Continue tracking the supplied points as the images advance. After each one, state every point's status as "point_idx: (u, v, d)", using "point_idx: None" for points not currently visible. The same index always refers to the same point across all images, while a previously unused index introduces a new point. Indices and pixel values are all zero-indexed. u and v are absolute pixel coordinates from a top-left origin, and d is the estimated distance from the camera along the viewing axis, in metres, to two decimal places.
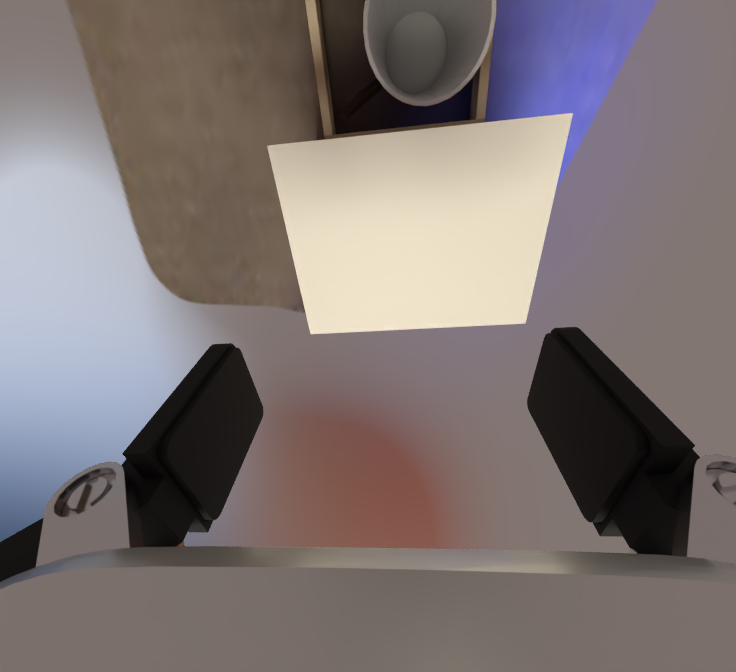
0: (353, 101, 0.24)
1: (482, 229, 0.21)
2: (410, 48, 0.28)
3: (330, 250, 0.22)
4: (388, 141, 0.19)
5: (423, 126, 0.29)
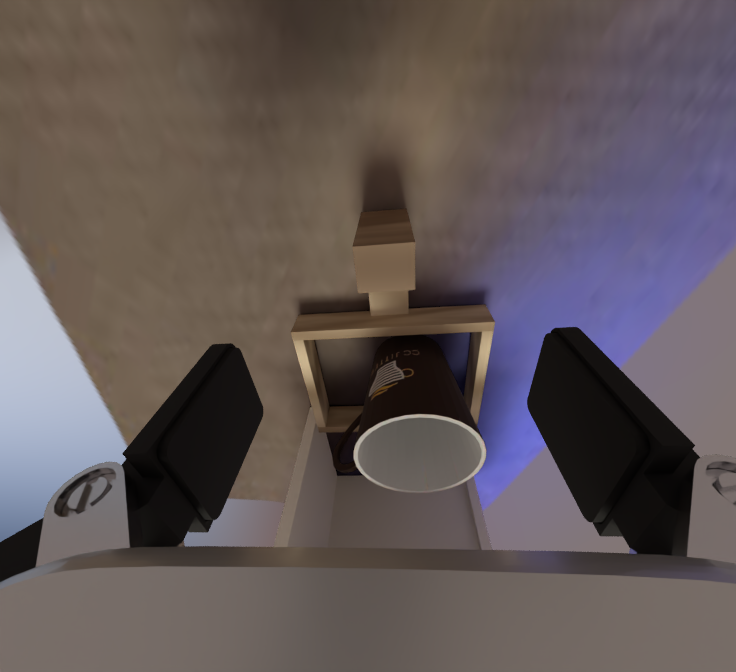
0: (345, 471, 0.24)
1: None
2: None
3: None
4: None
5: None
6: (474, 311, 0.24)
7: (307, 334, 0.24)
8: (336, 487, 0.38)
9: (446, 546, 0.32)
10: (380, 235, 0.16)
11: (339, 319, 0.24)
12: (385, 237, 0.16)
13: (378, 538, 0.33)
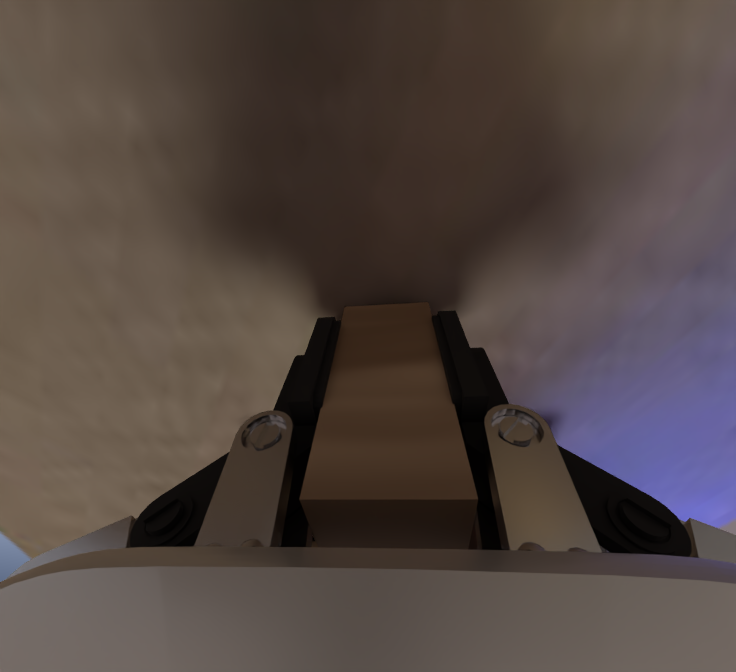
0: None
1: None
2: None
3: None
4: None
5: None
6: None
7: None
8: None
9: None
10: (378, 427, 0.06)
11: None
12: (391, 441, 0.06)
13: None
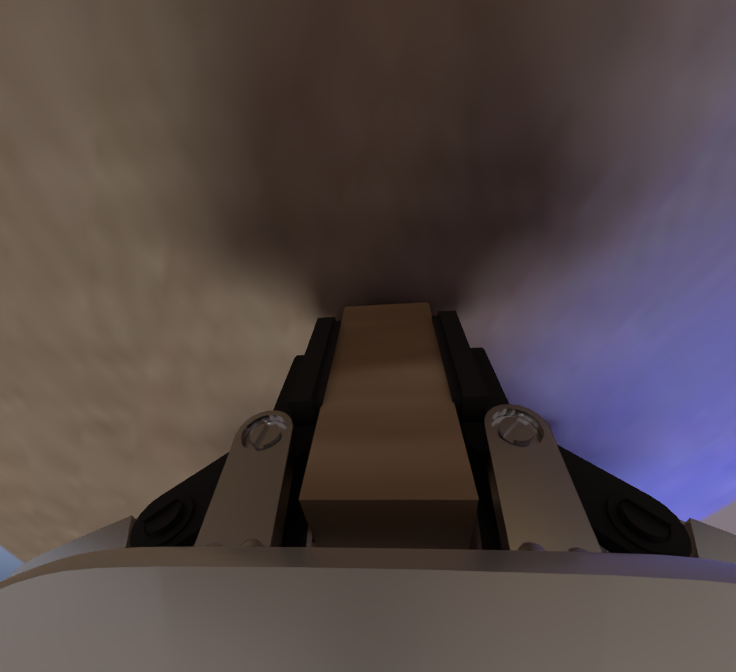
0: None
1: None
2: None
3: None
4: None
5: None
6: None
7: None
8: None
9: None
10: (378, 427, 0.06)
11: None
12: (390, 441, 0.06)
13: None
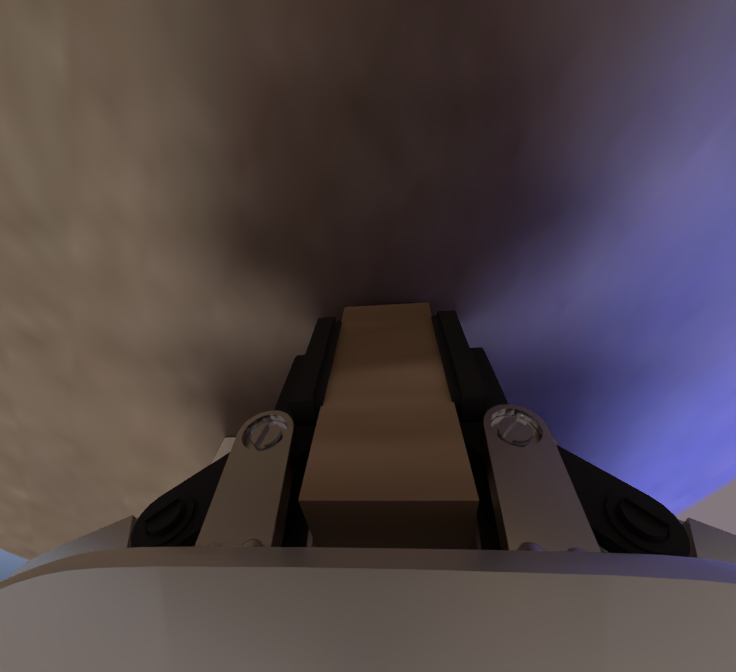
0: None
1: None
2: None
3: None
4: None
5: None
6: None
7: None
8: None
9: None
10: (377, 427, 0.06)
11: None
12: (391, 441, 0.06)
13: None
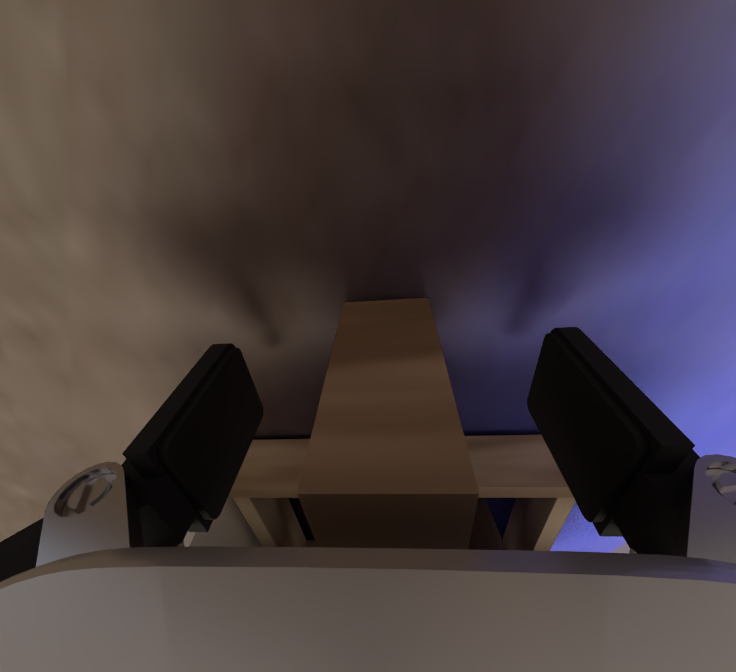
0: None
1: None
2: None
3: None
4: None
5: None
6: (539, 452, 0.14)
7: (255, 491, 0.14)
8: None
9: None
10: (377, 421, 0.06)
11: None
12: (390, 435, 0.06)
13: None
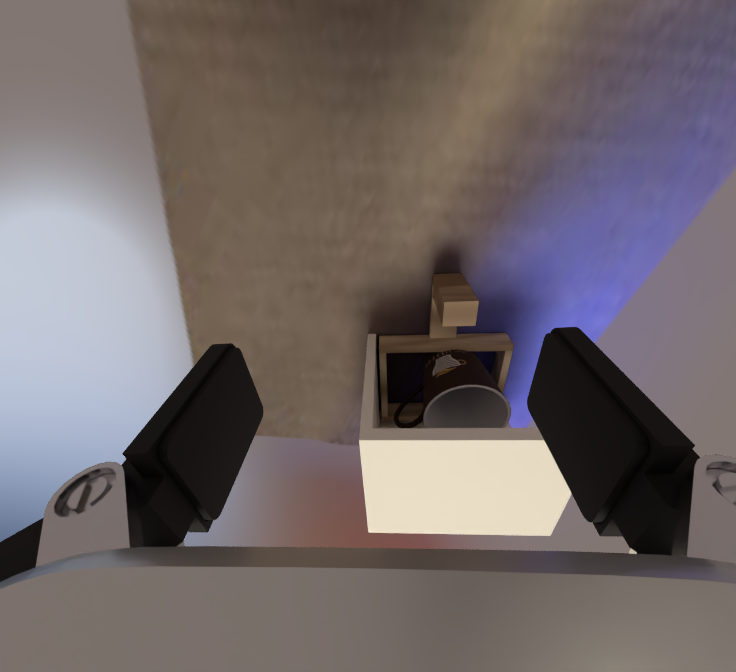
0: (406, 427, 0.34)
1: (522, 488, 0.26)
2: None
3: (396, 491, 0.27)
4: (455, 444, 0.24)
5: None
6: (499, 337, 0.36)
7: (389, 349, 0.35)
8: (380, 417, 0.43)
9: None
10: (456, 294, 0.28)
11: (409, 339, 0.36)
12: (459, 296, 0.28)
13: None
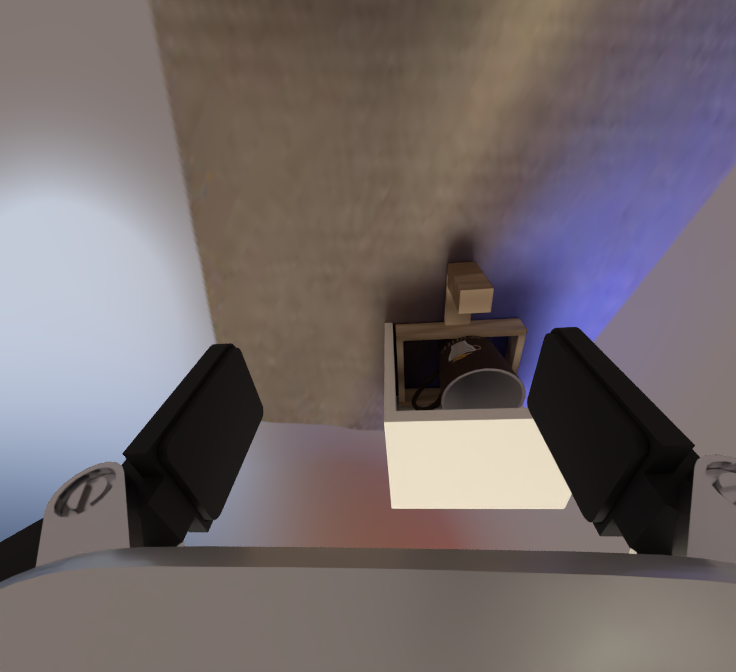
0: None
1: (537, 464, 0.28)
2: None
3: (418, 469, 0.29)
4: (474, 423, 0.25)
5: None
6: (512, 322, 0.37)
7: (406, 337, 0.37)
8: (397, 403, 0.45)
9: None
10: (471, 282, 0.29)
11: (425, 327, 0.38)
12: (475, 284, 0.29)
13: None
